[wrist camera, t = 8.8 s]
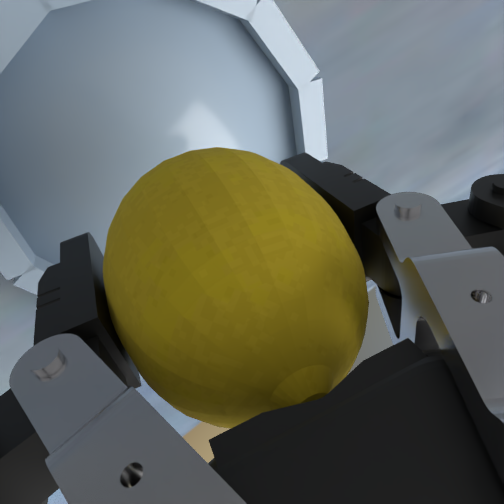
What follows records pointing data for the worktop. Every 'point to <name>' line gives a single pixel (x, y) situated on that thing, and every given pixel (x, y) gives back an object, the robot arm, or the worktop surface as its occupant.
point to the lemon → (233, 286)
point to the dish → (135, 106)
